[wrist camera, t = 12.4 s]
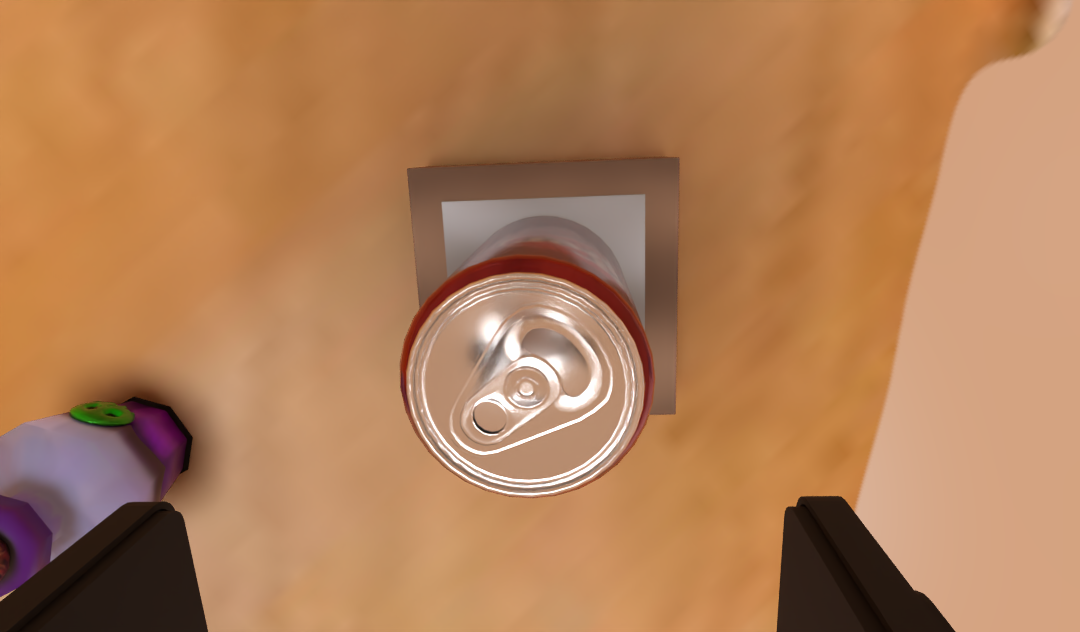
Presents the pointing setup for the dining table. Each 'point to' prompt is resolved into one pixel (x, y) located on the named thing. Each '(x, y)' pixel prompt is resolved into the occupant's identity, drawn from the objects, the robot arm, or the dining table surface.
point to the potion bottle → (81, 476)
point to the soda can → (530, 362)
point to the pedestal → (571, 193)
